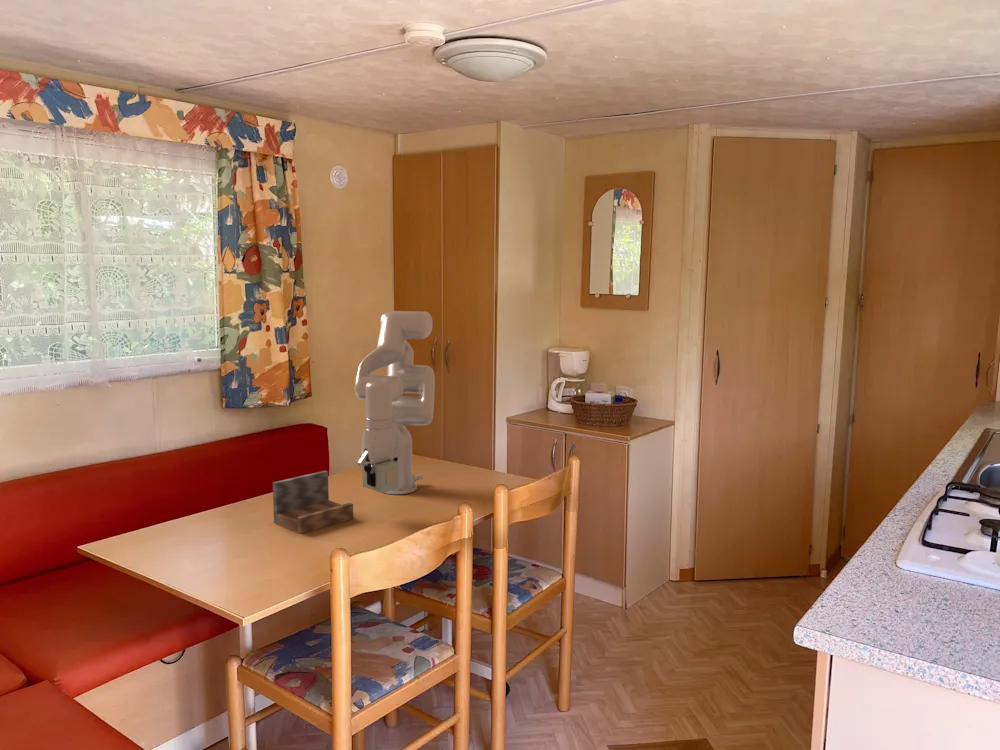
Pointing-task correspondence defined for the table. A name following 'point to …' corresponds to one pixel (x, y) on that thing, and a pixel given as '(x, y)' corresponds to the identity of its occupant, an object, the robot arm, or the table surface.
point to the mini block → (383, 476)
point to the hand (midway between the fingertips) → (380, 482)
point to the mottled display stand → (307, 503)
